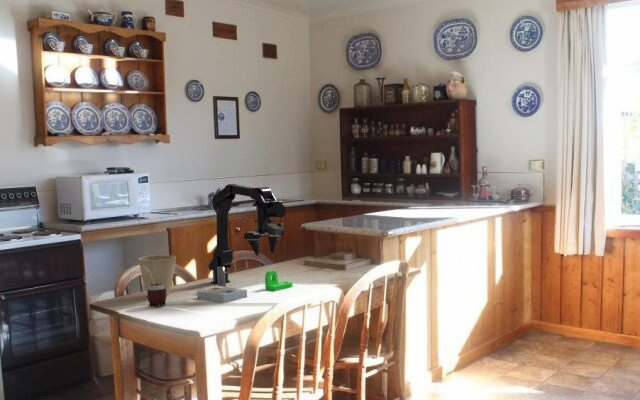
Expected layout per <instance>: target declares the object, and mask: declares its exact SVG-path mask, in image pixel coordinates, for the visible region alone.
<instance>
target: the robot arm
mask: <svg viewBox="0 0 640 400" xmlns="http://www.w3.org/2000/svg"><path fill="white" fill-rule="evenodd" d="M237 195H238V196H239V195H240V196H245V197H249V198H251V200H254V203H253V204H252V207H256V209H255V211H256V219H254V223H256V229H254V230H255V231H252V230H251V231H245V232H244V234H243V239H244V240H246V242H248V243H249V245H250V246H251V248H252V250H253V253H254V254H255V256H256V257H257V256H259V255H260V247H259V246H260V242H261V240H262V239H260V238H261V237H266V236H267V240H268V243H269V244H268V245H269V249H270V252H271V254H274V252H275V249H276V247H277V242H278V241H279V240H280V239H281V238H282V237H283V236H284V235H285V233H284V232H285V231H284V229H285V226H284V223H282V222H278V223H274V219H275V218H276V219H281V218H284V217H285V216H286V214H287V209H286V206H285V205H284V204H283V201H282V200H279V201H278V200H277V199H276V197H275V195H274V194H273V191H272V189H271V188H270V186H269V187H268V186H261V187H251V186H247V185H242V184H241V185H239V184H236V183H230V184H226V185H225V186H224V187H223V188H222V189H221V190H219V191H218V192H217V193H216V194H214V195H213V197H212V198H211V199H212V200H211V202H212V208H213V211H214V212H215V215H216V247H215V249H214V250H213V253H212V260H211V261H210V262H209V264H208V265H207V266H208V269H209V270H210V271H212V281H210V283H211V284H217V285H218V275H217V267H225V283H230V282H231V280H229V272H228V269H230V268H231V265H232V263H233V259H234V255H233V254H234V250H233V249H230V246H229V213H230V211H231V209H232V204H233V201H234V200H235V199H236V196H237ZM272 218H274V219H272Z"/></svg>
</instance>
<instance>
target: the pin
mask: <svg viewBox="0 0 640 400" xmlns="http://www.w3.org/2000/svg"><path fill="white" fill-rule="evenodd" d="M217 275H218V284H217V286H224V287H227V286H226V283H225V267H217Z"/></svg>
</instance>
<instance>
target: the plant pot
mask: <svg viewBox="0 0 640 400" xmlns="http://www.w3.org/2000/svg"><path fill="white" fill-rule="evenodd" d="M176 259H177V257H176V256H175V255H170V254H169V255H168V254H166V255H165V254H159V255H157V254H156V255H145V256H141V257H139V258H138V263H139V269H140V273H141V276H142V280H143V283H144V286H145V289H146V291H147V290H148V287H149V285H151V284H153V283H152V280H151V277H150V275H149V272H148V271H147V270H146V269H145V268H144V266H145V267H146V268H147V269H148V270H149V271H150V272H151V275H152V278H153V281H154V284H163V285H164V286H165V289H166V297H167V296H168V295H169V292H170V289H171V287H172V282H173V279H174V273H175V269H176V268H175V267H176Z"/></svg>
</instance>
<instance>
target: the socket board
mask: <svg viewBox="0 0 640 400" xmlns="http://www.w3.org/2000/svg"><path fill="white" fill-rule="evenodd" d="M247 293H248V290H247V289H245V288H238V287H230V286H226V287H224V286H218V285H217V286H212V287H211V286H210V287H207V288H202V289H200V290H196V294H197V295H196V298H197V299H200V300H205V301H211V302H217V303H222V304H225V303H226V304H227V303H229V302H233V301H237V300H241V299H245V298H247V297H248V294H247Z"/></svg>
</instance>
